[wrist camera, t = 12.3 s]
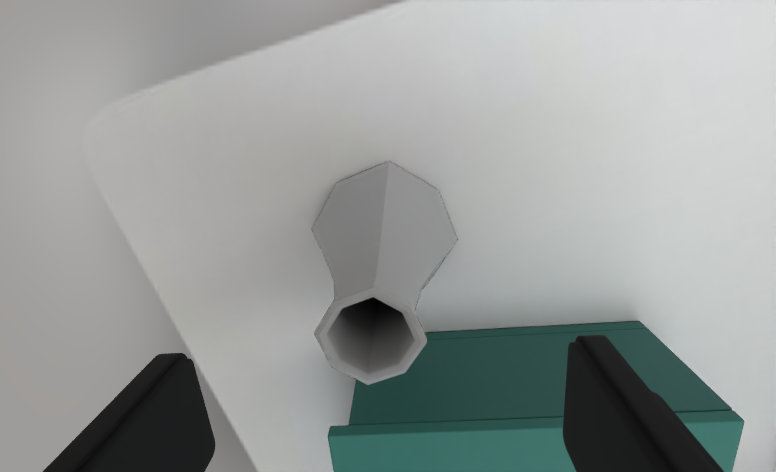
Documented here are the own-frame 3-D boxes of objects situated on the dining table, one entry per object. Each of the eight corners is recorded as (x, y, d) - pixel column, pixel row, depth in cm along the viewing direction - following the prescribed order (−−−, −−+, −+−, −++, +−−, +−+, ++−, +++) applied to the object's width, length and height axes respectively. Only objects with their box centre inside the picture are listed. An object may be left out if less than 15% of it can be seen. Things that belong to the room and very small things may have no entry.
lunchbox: (380, 484, 27) (374, 603, 21) (363, 335, 24) (348, 424, 17) (619, 476, 27) (688, 598, 20) (639, 320, 23) (732, 408, 16)
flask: (288, 225, 22) (200, 326, 12) (391, 133, 20) (380, 168, 11) (379, 317, 23) (362, 468, 14) (481, 239, 22) (542, 352, 12)
